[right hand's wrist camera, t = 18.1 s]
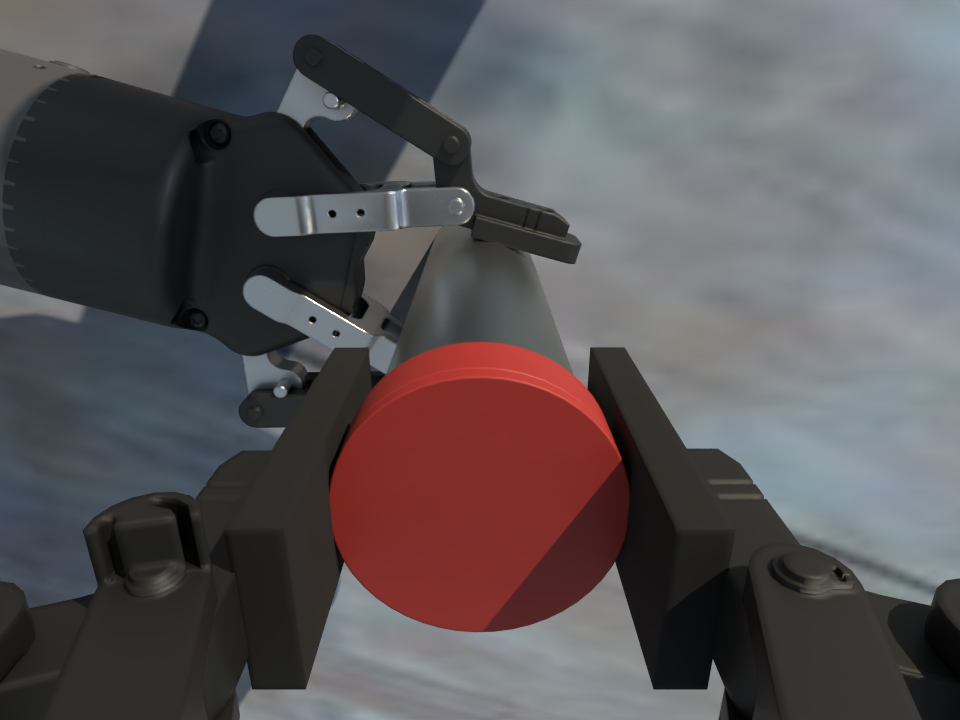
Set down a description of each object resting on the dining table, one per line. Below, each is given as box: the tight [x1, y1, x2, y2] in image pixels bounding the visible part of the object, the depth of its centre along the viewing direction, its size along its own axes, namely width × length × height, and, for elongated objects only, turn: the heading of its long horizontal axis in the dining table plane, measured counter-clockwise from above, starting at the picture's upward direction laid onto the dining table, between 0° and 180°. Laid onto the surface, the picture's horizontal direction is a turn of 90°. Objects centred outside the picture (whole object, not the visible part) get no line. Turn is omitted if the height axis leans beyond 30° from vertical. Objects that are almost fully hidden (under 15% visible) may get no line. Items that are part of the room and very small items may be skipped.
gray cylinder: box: [386, 225, 573, 375], centre depth 20 cm, size 4×4×19 cm
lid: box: [329, 342, 630, 632], centre depth 11 cm, size 5×5×2 cm
